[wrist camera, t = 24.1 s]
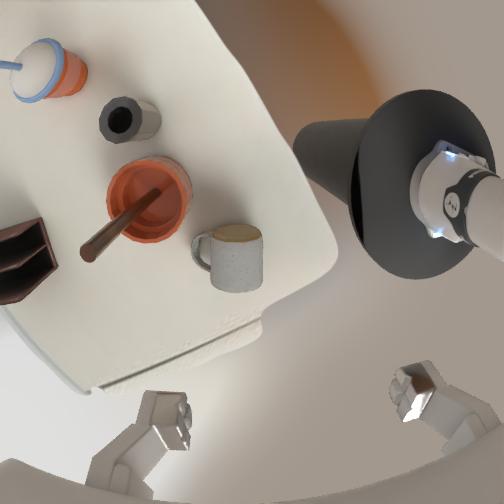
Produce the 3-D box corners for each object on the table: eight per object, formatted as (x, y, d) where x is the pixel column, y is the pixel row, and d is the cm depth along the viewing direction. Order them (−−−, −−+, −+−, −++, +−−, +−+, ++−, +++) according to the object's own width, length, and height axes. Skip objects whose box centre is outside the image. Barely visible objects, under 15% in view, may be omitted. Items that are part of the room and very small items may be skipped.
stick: (159, 187, 40) (93, 243, 20) (161, 197, 41) (98, 261, 21) (149, 188, 40) (77, 245, 20) (151, 199, 41) (82, 263, 21)
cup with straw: (106, 71, 33) (38, 47, 16) (69, 115, 35) (-8, 118, 18) (77, 42, 30) (9, 15, 13) (42, 84, 32) (-32, 79, 15)
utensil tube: (160, 100, 36) (140, 92, 27) (162, 137, 38) (143, 139, 30) (124, 106, 36) (98, 102, 27) (126, 142, 38) (101, 146, 30)
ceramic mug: (261, 220, 44) (265, 238, 37) (260, 270, 47) (264, 295, 40) (190, 222, 43) (181, 240, 36) (194, 270, 47) (187, 295, 40)
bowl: (189, 151, 39) (182, 155, 34) (196, 226, 44) (190, 240, 38) (117, 161, 39) (101, 166, 33) (128, 231, 43) (114, 245, 38)
